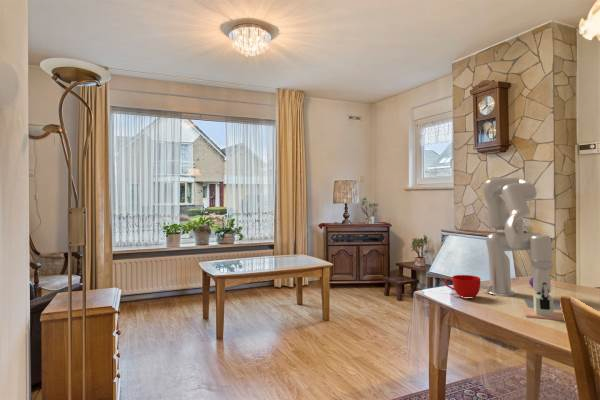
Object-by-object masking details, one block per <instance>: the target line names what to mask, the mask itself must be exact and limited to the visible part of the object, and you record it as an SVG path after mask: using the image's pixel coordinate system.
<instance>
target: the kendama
mask: <svg viewBox="0 0 600 400" xmlns="http://www.w3.org/2000/svg"><path fill="white" fill-rule="evenodd" d="M528 281H529V282H528V283H529V285H530V286H531V287H532V288H533V276H532V277H531V278H530V279H529V280H528Z"/></svg>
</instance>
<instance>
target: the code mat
mask: <svg viewBox="0 0 600 400" xmlns="http://www.w3.org/2000/svg"><path fill="white" fill-rule="evenodd" d="M523 301H524V303H525V304H526V306H527V307H528V309H534V299H523ZM560 302H561V301H556V300H555V301H554V300H553V310H554V311H562V310H561V307H560Z"/></svg>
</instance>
